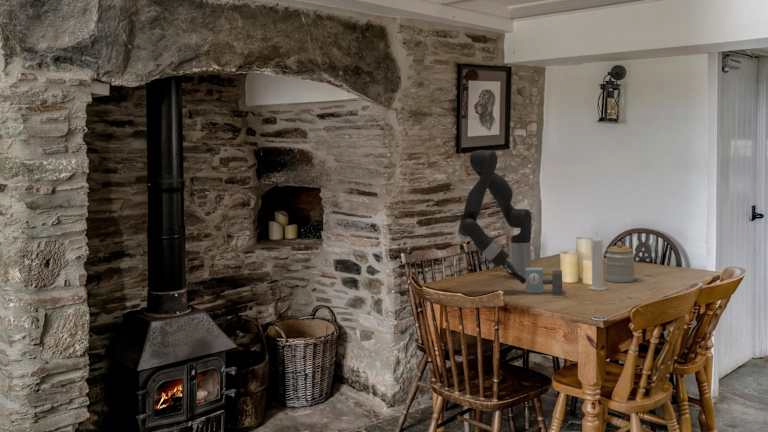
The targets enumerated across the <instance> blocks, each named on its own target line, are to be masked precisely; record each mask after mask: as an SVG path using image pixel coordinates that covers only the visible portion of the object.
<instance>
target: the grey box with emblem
mask: <svg viewBox="0 0 768 432" xmlns="http://www.w3.org/2000/svg"><path fill="white" fill-rule="evenodd" d="M544 285H552V279H544V267H531V268H526V282H525V289H526V293H543V289H544Z"/></svg>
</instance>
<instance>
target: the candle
mask: <svg viewBox="0 0 768 432" xmlns="http://www.w3.org/2000/svg"><path fill="white" fill-rule="evenodd" d="M603 256H604V255H603V239H602V238H601V237H600V236H599V233H598V232H597V231H596V233H595V236H594V237H593V238H592V239H591V285H590V286H589V287H588V289H589V290H591V291H604V290H606V289H607V287H606V286H604V275H603V274H604V273H603V272H604V270H603V269H604V268H603V261H604V260H603Z"/></svg>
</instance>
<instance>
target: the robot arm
mask: <svg viewBox="0 0 768 432" xmlns="http://www.w3.org/2000/svg"><path fill="white" fill-rule="evenodd" d="M469 163H470V166H471V168H472V170H473V171H474V172H475V173H476V175H477V176H478V177H479V179H478V181H477V182H476V183H475V185H474V186H473V187H472V188H471V189H470V191H469V193H468V195H467V197H466V201H465V205H464V209H463V213H462V216H461V219H460V222H459V226H458V231H459V232H458V233H460V235H461V236H462V237H465V238H470V239H471V241H472V242H473V245H474V246H475V247H476V249H478V250H479V251H480V252H481V253H482V254H483V255H484V256H485V258H486V259H487V260H488V261H489V262H490V263H492V265H494V266H495V267H496V268H499V267H500V266H501V267H502V268H503V270H504V271H505V272H506V274H508V275H509V276H511V278H512V279H516V280H518V282H520V283H521V284H522V285H524V284H526V268H532V258H531V257H532V255H531V254H532V252H531V251H532V250H531V245H532V244H531V237H532V223H533V222H532V219H533V218H532V213H531V211H530V209H528V208H527V209H526V208H515V207H514V206H513V205H512V201H513V195H514V194H513V193H514V192H513V189H512V187H511V186H510V184H509V182H508V181H507V180H506V179H505V178H504V177H503V176H502V175H500V174H498V173H497V172H495V171H496V168H497V165H498V155H497V153H496V152H495V151H494V150H487V149H486V150H485V149H483V150H481V149H480V150H479V149H478V150H474V151H472V152H471V153H470V155H469ZM487 190H488V191H489V192H490V195H491V196H492V197H493V200H494V201H495V202H496V203H497V205H498V208H500V211H501V212H502V214H503V217H504V219H505V221H506V223H507V225H508V226H509V227H511V228H513V229H514V228H515V229H519V233H517V234H514V235H511V236H510V250H511V251H510V252H511V253H510V254H511V255H509V254H508V252H506V250H504V249H503V247H501V245H499V244H498V243H496V241H494V240H493V239H492V238H491V237H490V236H489V235H488V234H486V232H485V231H484V230H483V228H482V227H481V225H479V223H478V222H477V220H478V216H479V215H480V213H481V209H482V205H483V202H484V199H485V195H486V192H487ZM509 257H511V261H509V260H508V258H509Z"/></svg>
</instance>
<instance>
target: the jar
mask: <svg viewBox="0 0 768 432" xmlns="http://www.w3.org/2000/svg"><path fill="white" fill-rule="evenodd" d="M606 251H607V252H606V253H605V255H604V256H605V257H606V258H605V259H606V260H605V281H607V282H611V283H632V282H634V281H635V279H636V274H635V272H636V271H635V264H636V262H635V257H636V254H634V253H633V251H634V250H633V248H631V247H630V246H628V245H627V246H626V245H625V246H624V244H623V243H622V242H620V241H619V242H617V243H616V245H613V246H609V248H607V249H606Z"/></svg>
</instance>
